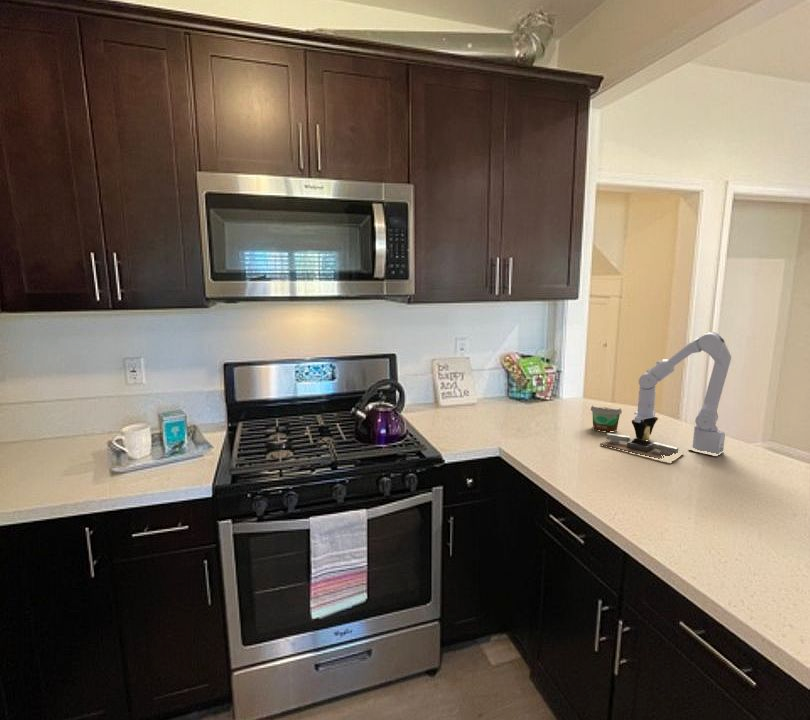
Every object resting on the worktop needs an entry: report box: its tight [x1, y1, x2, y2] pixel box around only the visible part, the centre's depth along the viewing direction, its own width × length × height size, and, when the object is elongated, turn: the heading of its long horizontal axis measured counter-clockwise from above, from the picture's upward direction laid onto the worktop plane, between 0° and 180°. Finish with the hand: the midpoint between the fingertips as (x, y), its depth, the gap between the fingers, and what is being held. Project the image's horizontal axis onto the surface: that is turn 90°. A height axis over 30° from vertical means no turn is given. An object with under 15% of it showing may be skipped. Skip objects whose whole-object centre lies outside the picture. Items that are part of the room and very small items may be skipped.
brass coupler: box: [642, 425, 650, 441], centre depth 187 cm, size 4×4×6 cm
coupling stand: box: [599, 432, 679, 459], centre depth 176 cm, size 25×13×4 cm, turn 41°
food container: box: [590, 405, 622, 433], centre depth 198 cm, size 12×6×10 cm, turn 62°
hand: (643, 436), depth 187 cm, fingers open, 7 cm apart
